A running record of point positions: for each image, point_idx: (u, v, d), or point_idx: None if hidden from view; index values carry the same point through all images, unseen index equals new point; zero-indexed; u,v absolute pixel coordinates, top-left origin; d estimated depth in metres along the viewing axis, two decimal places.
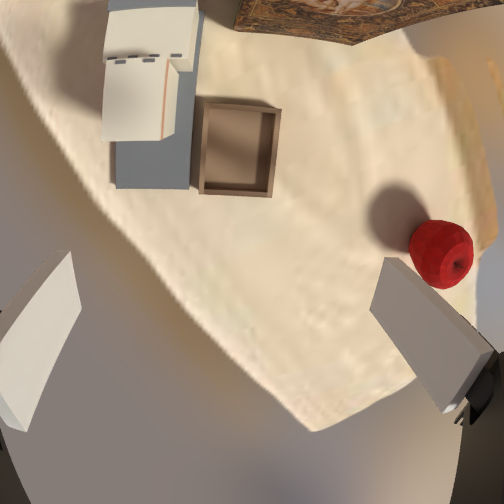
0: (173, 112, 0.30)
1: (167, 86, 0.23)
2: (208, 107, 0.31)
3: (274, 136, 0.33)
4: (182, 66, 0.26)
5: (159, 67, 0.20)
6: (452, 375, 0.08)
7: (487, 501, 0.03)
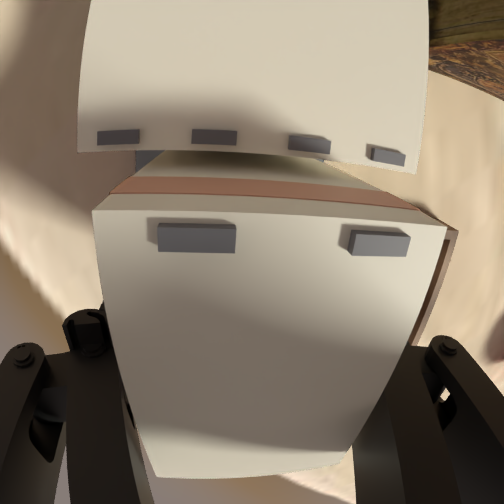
0: None
1: None
2: None
3: (439, 277, 0.18)
4: None
5: (413, 279, 0.04)
6: None
7: None
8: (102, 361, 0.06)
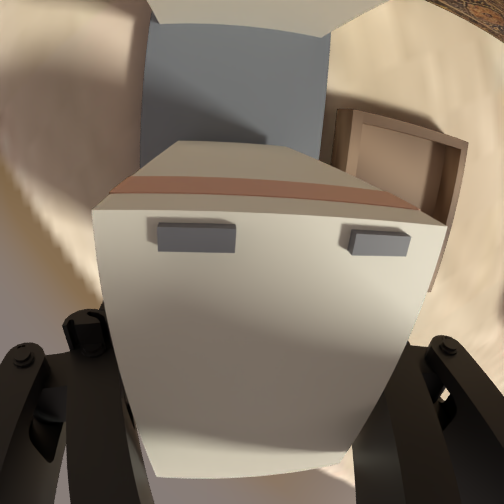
0: None
1: None
2: (360, 121, 0.14)
3: (454, 190, 0.16)
4: (332, 15, 0.09)
5: (413, 279, 0.04)
6: None
7: None
8: (102, 361, 0.06)
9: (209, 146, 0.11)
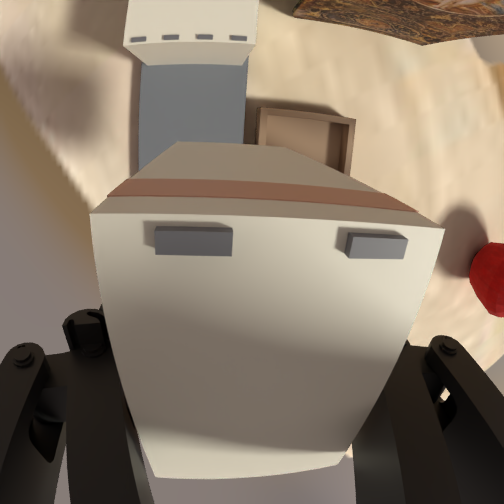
0: None
1: None
2: (266, 113, 0.24)
3: (347, 153, 0.26)
4: (235, 56, 0.19)
5: (410, 281, 0.04)
6: None
7: None
8: (102, 361, 0.06)
9: (208, 147, 0.11)
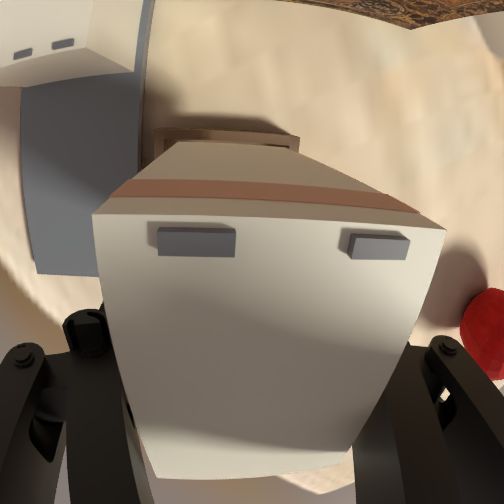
0: None
1: None
2: (161, 138, 0.17)
3: None
4: (102, 64, 0.12)
5: (412, 282, 0.04)
6: None
7: None
8: (102, 361, 0.06)
9: (209, 148, 0.11)
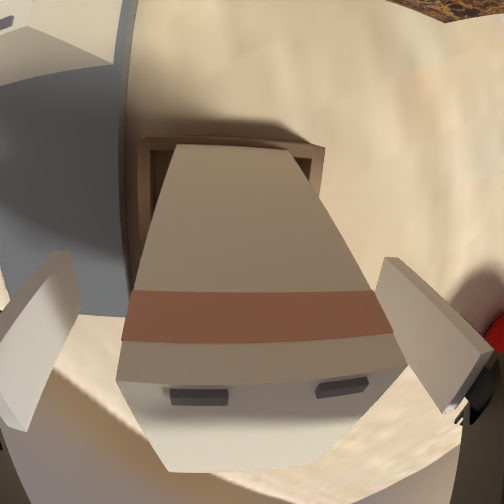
0: None
1: None
2: (147, 149, 0.13)
3: None
4: (66, 54, 0.08)
5: (369, 392, 0.05)
6: (452, 375, 0.08)
7: (487, 501, 0.03)
8: None
9: (208, 167, 0.11)
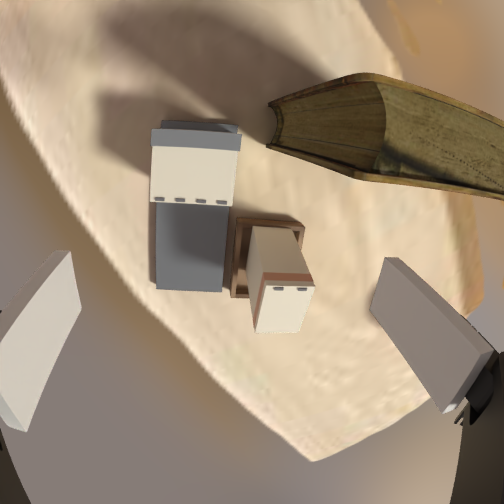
0: None
1: None
2: (241, 226, 0.38)
3: None
4: None
5: (309, 293, 0.31)
6: (452, 375, 0.08)
7: (487, 501, 0.03)
8: None
9: (267, 238, 0.36)
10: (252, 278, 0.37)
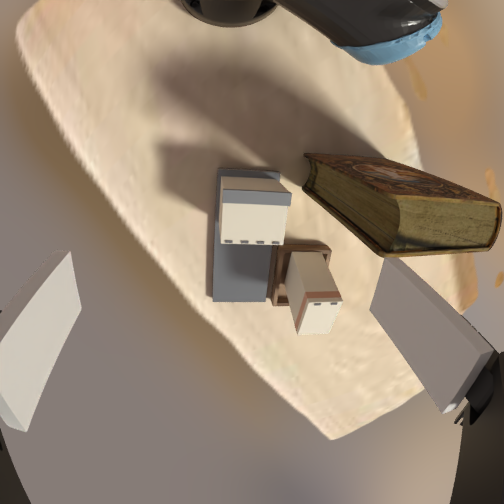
0: None
1: None
2: (283, 252, 0.49)
3: None
4: None
5: (338, 306, 0.41)
6: (452, 375, 0.08)
7: (487, 501, 0.03)
8: None
9: (304, 262, 0.47)
10: (293, 293, 0.47)
